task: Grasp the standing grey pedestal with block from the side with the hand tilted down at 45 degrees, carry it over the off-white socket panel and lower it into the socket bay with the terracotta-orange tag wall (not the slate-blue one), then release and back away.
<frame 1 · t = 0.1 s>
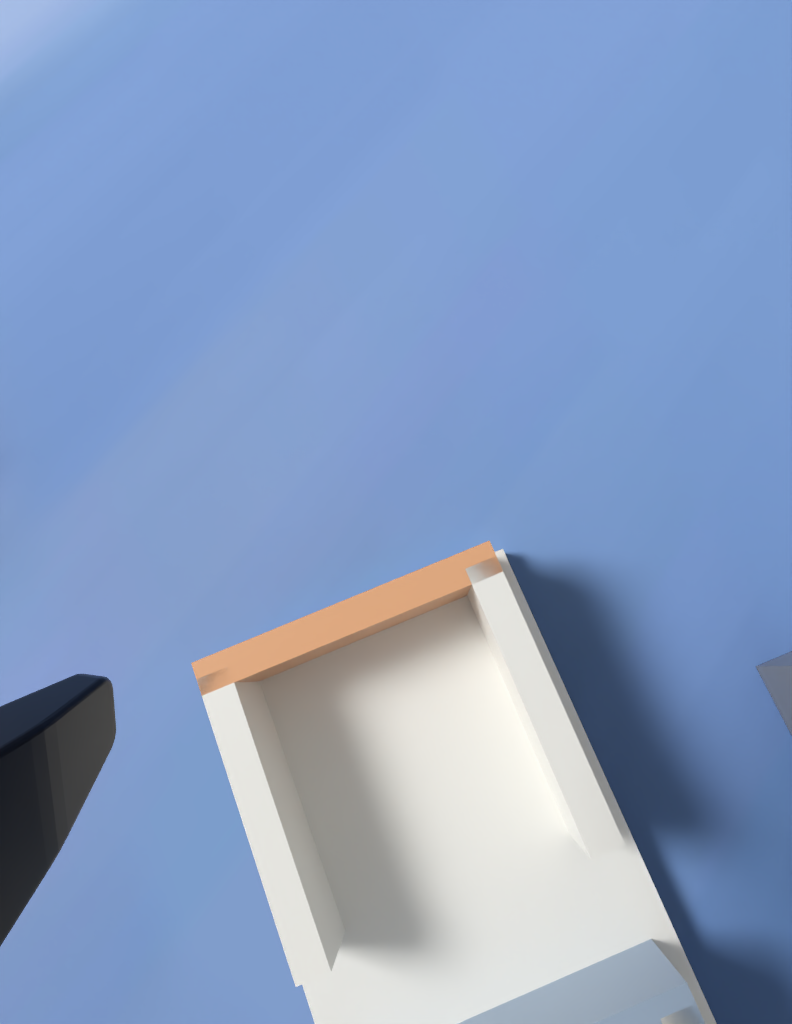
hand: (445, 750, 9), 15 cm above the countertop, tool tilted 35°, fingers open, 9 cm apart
socket panel: (482, 940, 22), on the countertop
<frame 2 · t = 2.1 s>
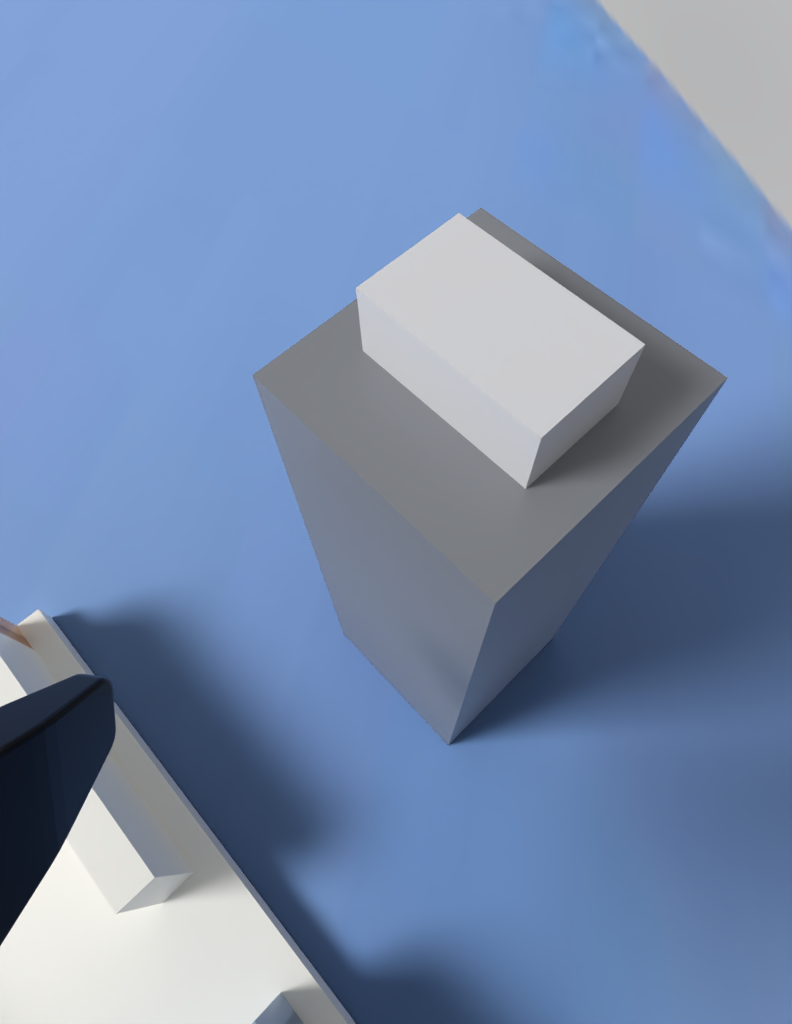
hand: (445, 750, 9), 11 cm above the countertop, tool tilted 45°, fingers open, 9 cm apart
grey pedestal with block: (447, 635, 21), on the countertop
when the fingers open (9 cm above the countertop, at t = 7.7 s): grey pedestal with block drops 1 cm, resting on socket panel.
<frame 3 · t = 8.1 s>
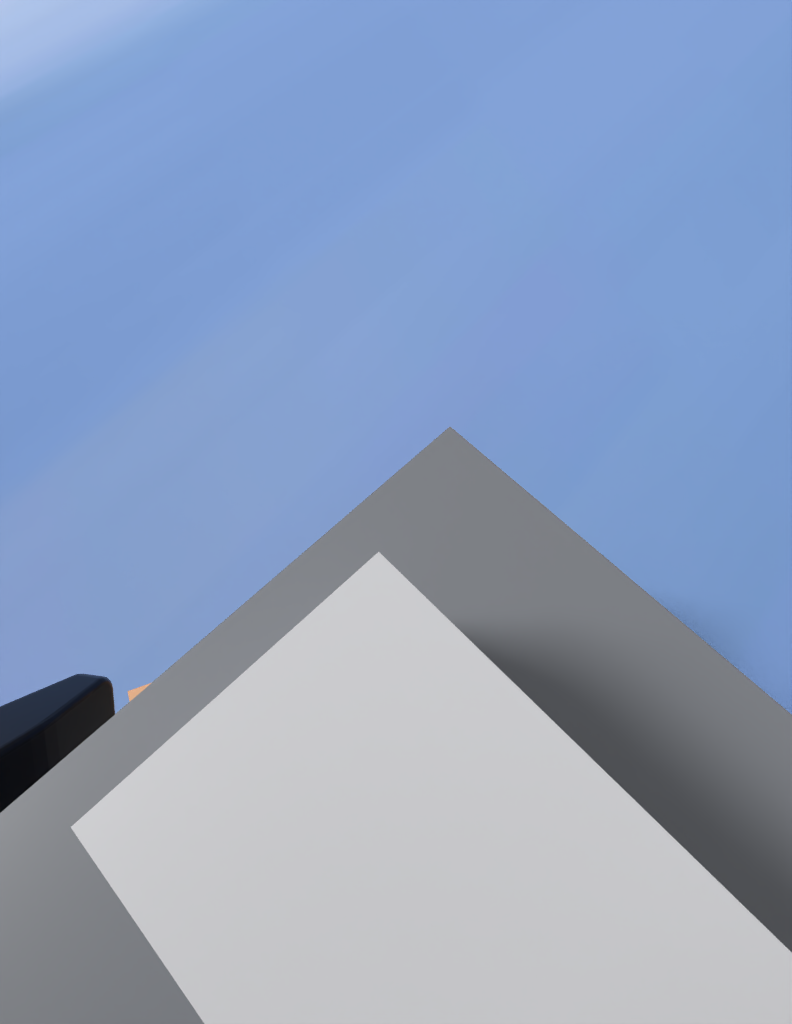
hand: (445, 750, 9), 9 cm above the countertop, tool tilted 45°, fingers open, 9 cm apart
grey pedestal with block: (426, 856, 16), point 1 cm above the countertop, touching socket panel
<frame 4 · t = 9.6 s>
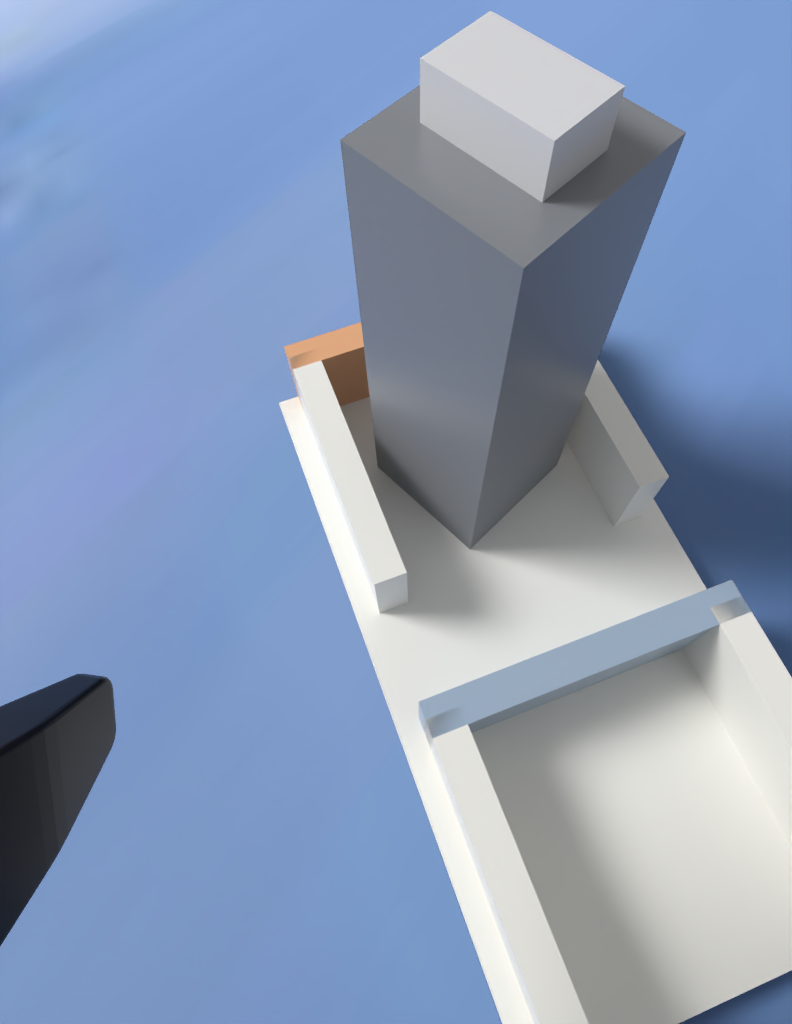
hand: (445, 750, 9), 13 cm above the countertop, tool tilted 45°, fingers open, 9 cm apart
socket panel: (535, 624, 23), on the countertop
grey pedestal with block: (466, 466, 25), point 1 cm above the countertop, touching socket panel
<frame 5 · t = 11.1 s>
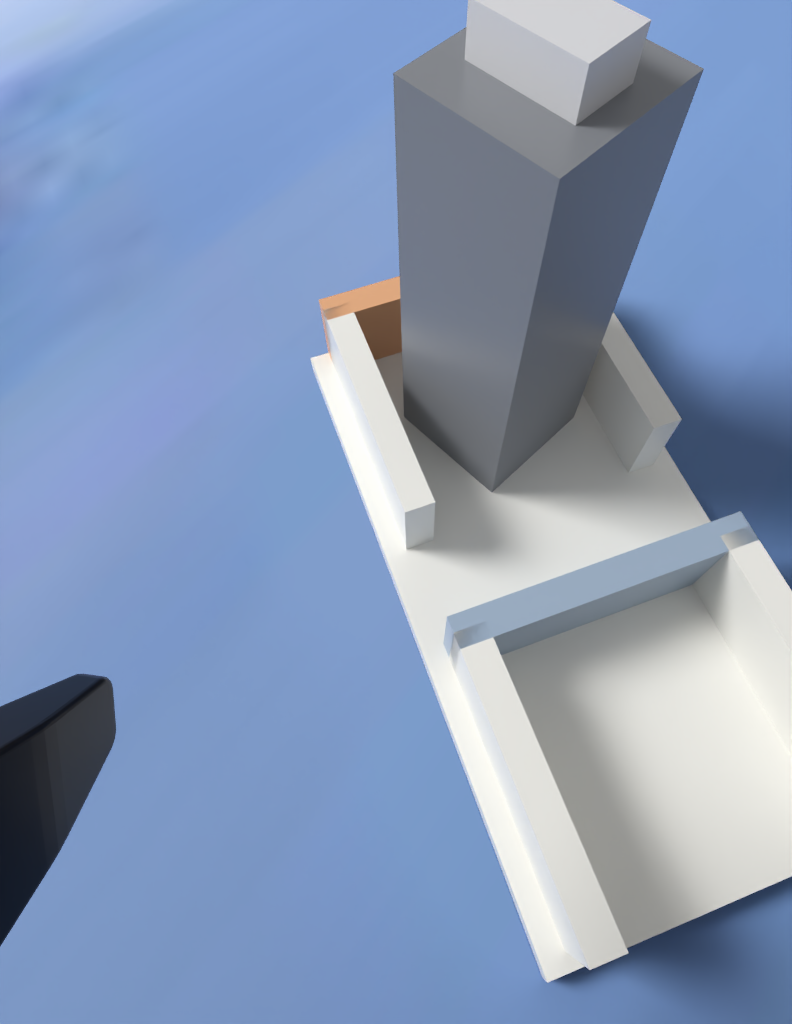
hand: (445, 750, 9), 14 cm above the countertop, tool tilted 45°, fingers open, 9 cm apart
socket panel: (552, 563, 24), on the countertop
grey pedestal with block: (488, 417, 26), point 1 cm above the countertop, touching socket panel
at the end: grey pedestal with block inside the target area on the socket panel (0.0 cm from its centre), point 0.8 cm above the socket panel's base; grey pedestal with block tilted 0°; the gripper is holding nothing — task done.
